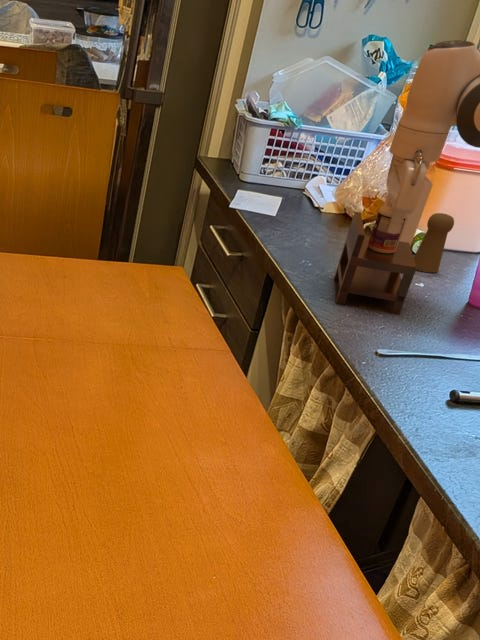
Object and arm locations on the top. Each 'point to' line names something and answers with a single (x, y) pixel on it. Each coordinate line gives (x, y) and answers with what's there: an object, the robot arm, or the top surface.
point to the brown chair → (373, 269)
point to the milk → (415, 213)
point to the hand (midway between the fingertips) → (389, 225)
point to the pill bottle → (385, 231)
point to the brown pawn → (433, 243)
